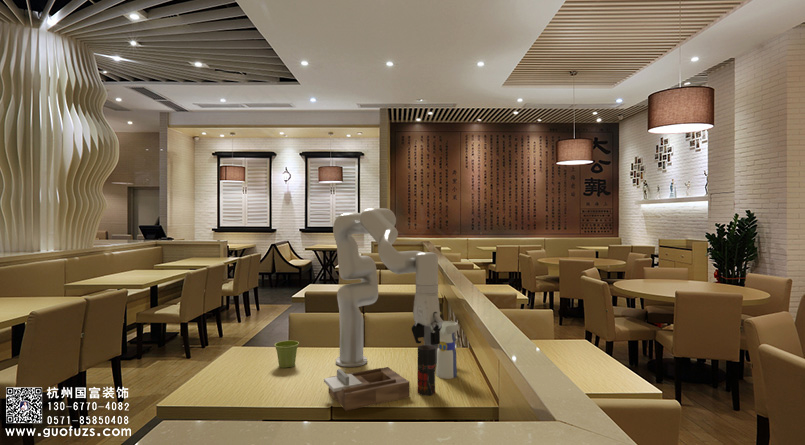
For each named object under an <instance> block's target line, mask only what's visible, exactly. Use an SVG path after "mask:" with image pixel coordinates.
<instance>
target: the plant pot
mask: <svg viewBox="0 0 805 445" xmlns="http://www.w3.org/2000/svg"><path fill="white" fill-rule="evenodd" d="M299 344H300V342H299V341H297V340H282V341H278V342H275V343H274V345H273V346H274V347H275V350H276V353H277V361H278V366H279V368H282V369H286V368H292V367H293V368H294V366H295V365H296V359H297V352H298V351H297V350H298V348H299V347H298V346H299Z"/></svg>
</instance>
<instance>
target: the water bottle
mask: <svg viewBox="0 0 805 445" xmlns="http://www.w3.org/2000/svg"><path fill="white" fill-rule="evenodd" d="M440 315H442V312H440ZM459 330H460V326H459V324H458V322H456V321H452V320H443V323H442V328H441V332H440V344H438V350H437V364H436V369H435V376H437V378H441V379H447V380H449V379H455V378H457V377H458V370H457V367H458V366H457V349H456V341H457V338H456V336H455V333H456V332H457V331H459Z"/></svg>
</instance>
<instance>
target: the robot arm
mask: <svg viewBox="0 0 805 445" xmlns="http://www.w3.org/2000/svg"><path fill="white" fill-rule="evenodd" d="M396 223H397V218H396V215H395V213H394V212H393V211H392V210H391V209H389V208H381V207H379V208H377V207H375V208H373V207H372V208H366V209H364V210H363V211H362V212H345V213H342V214H339V215H338V216H337V217H336V218H335V219H334V222H333V225H332V226H333V227H332V231H333V233H332V234H333V238H334V241H335V243H336V244H335V245H336V251H337V265H338V266H337V267H338V273H339V277H340V278H341V279H342V280H345V281H353V280H355V281H356V280H360V282H353V283H346V284H344V285H342V286H340V287H339V288H338V290H337V292H336V299H337V305H338V310H339V312H338V313H339V314H338V315H339V356H338V357H337V358H336V359H335V364H336V365H338V366H340V367H344V368H345V367H347V368H355V367H361V366H364V365H366V364H367V362H368V358H367V357H366V356H365V355H364V315H363V313H362V312H361V310H360V308H359V307H364V306H370V305H374V304H375V303H376V302H377V300H378V298H379V282H378V269H377V266H376V262H375V260H374V259H373V258H372V257H371V256H369V255H360V254H359V245H358V243H357V241H356V239H355V238H354V236H353V235H368V234H369V235H370V236H371V238H373V240H374V241H376V243H377V244H378V245H377V253H378V257H379V260H380V261H381V262H382V263H383V265H384V266H385V267H386V268H387V269H388V271H390V272H392V274H393V273H394V274H396V275H402V274H404V275H405V274H411V273H413V274H414V273H415V294H414V298H413V299H414V300H413V311H412V314H413V321H414V324H415V327H416V338H418V339H420V338H423V337H424V325H425V326H430V328H431V331H432V332H431V345H436V344H440V332H441V328H442V323H443V321H444V320H443V319H442V317H441V314H440V313H441V311H440V301H439V256H438V254H437V253H436V252H432V251H431V252H430V251H428V252H427V251H424V252H423V251H420V250H406V251H405V250H404V251H403V250H402V251H398V250H397V249H396V248H395V246H393V244H394V243H395V242H396V240H397V239H398V236H399V232H398V230H397V228H396V227H395V226H396ZM435 325H436V326H435ZM433 326H435V328H434V327H433Z"/></svg>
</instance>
